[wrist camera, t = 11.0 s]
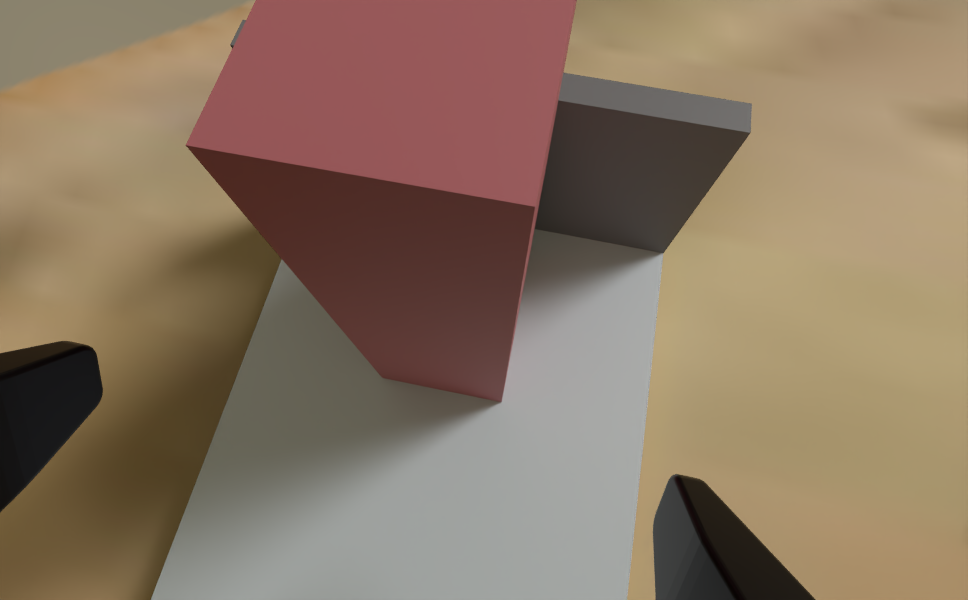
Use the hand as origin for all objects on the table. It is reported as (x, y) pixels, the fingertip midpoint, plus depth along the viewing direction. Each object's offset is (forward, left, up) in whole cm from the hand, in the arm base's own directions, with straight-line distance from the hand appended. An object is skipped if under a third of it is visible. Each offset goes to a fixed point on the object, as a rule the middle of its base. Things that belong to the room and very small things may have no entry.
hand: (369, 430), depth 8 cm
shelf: (+2, 0, -9) cm, 9 cm away
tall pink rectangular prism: (+5, 0, -7) cm, 9 cm away
